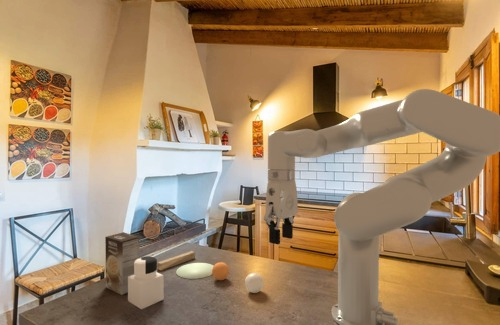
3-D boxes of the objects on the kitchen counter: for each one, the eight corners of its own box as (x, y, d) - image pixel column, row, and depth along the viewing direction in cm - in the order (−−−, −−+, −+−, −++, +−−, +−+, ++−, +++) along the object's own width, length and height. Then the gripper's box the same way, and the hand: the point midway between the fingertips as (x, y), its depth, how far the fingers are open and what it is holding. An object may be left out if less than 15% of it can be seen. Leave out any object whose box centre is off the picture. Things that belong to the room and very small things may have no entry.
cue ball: (267, 291, 86) (267, 272, 86) (255, 298, 82) (255, 279, 82) (252, 286, 90) (252, 268, 90) (241, 292, 86) (241, 274, 85)
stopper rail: (195, 258, 115) (195, 251, 115) (160, 270, 102) (160, 263, 102) (191, 257, 116) (191, 250, 116) (157, 269, 103) (157, 262, 103)
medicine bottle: (150, 292, 86) (150, 252, 86) (164, 299, 81) (163, 257, 81) (127, 301, 80) (127, 259, 80) (141, 310, 76) (140, 265, 76)
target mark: (224, 269, 103) (224, 268, 103) (194, 282, 92) (194, 282, 92) (198, 260, 112) (198, 260, 112) (168, 271, 101) (168, 271, 101)
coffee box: (104, 287, 89) (103, 236, 89) (123, 280, 94) (123, 231, 94) (121, 295, 84) (121, 241, 84) (140, 287, 89) (140, 236, 89)
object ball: (232, 279, 95) (232, 262, 95) (220, 284, 91) (220, 267, 91) (220, 274, 99) (220, 258, 99) (208, 280, 94) (208, 263, 94)
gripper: (275, 178, 70) (275, 251, 71) (307, 174, 84) (307, 236, 84) (251, 177, 75) (251, 245, 75) (285, 174, 88) (285, 231, 89)
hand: (281, 239), depth 80 cm, fingers open, 5 cm apart
